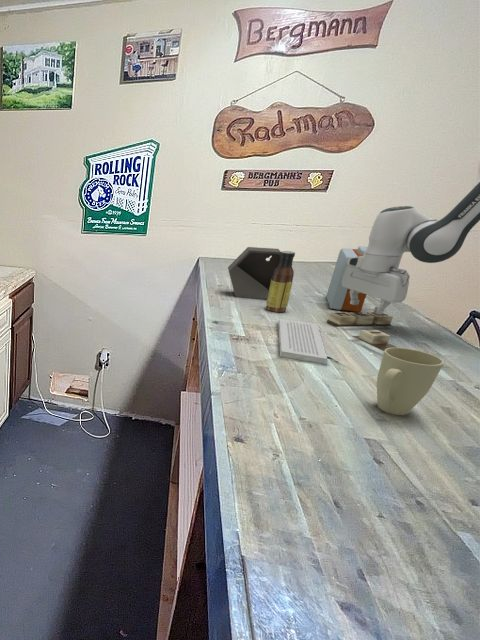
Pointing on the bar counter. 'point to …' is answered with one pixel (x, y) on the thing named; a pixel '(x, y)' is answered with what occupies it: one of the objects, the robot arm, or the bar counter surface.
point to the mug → (405, 378)
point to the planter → (254, 272)
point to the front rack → (375, 339)
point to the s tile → (362, 318)
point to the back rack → (348, 319)
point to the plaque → (301, 341)
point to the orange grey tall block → (336, 292)
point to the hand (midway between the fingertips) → (365, 308)
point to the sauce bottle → (281, 283)
